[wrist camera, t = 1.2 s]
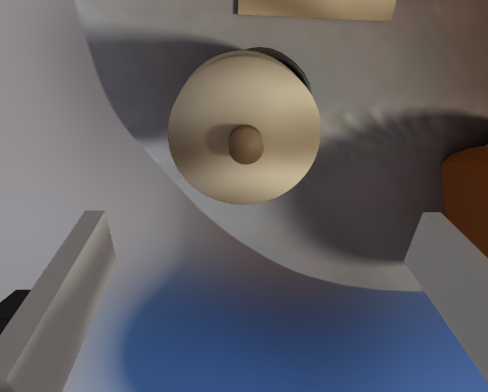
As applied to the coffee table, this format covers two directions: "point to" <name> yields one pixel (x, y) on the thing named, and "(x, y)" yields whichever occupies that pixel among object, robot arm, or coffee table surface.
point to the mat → (321, 9)
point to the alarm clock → (467, 194)
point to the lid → (244, 128)
